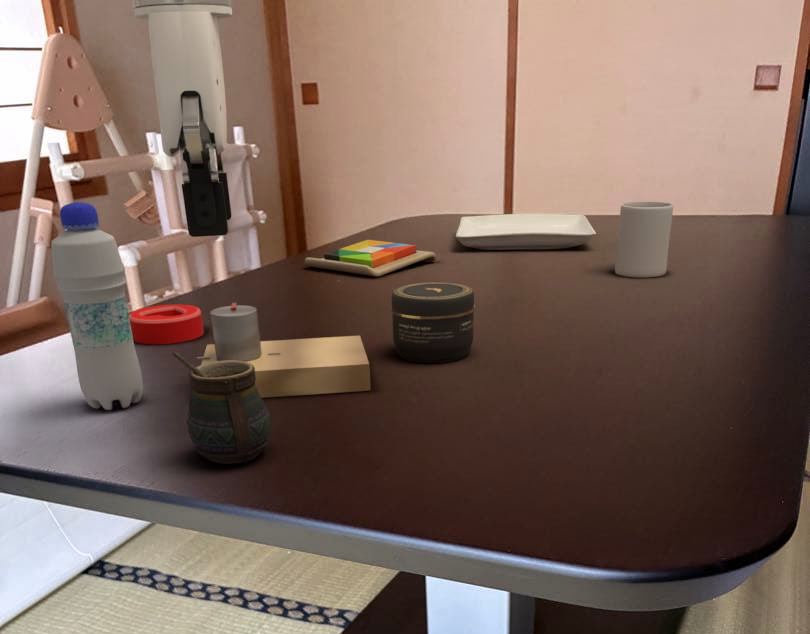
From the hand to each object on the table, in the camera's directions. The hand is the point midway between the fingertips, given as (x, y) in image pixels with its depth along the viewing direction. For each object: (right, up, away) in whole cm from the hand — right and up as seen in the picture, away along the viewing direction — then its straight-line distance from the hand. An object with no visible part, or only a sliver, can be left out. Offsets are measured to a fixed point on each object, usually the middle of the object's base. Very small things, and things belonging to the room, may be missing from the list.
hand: (211, 227), depth 73 cm
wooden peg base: (+3, -9, +22) cm, 24 cm away
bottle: (-14, -13, +16) cm, 25 cm away
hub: (-2, -7, +20) cm, 21 cm away
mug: (+58, +19, +72) cm, 94 cm away
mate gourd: (+1, -20, +2) cm, 20 cm away
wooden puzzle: (+11, +24, +83) cm, 87 cm away
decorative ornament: (-15, 0, +41) cm, 44 cm away
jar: (+20, -5, +30) cm, 36 cm away
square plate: (+42, +35, +103) cm, 117 cm away
